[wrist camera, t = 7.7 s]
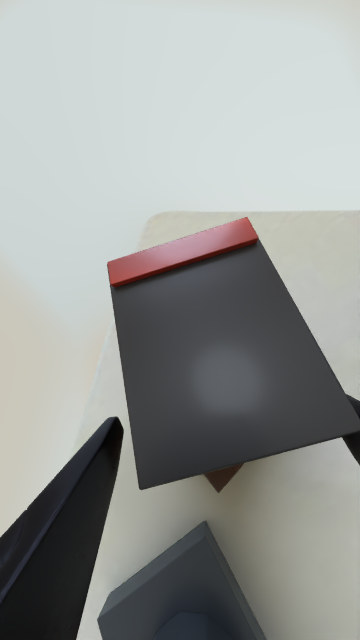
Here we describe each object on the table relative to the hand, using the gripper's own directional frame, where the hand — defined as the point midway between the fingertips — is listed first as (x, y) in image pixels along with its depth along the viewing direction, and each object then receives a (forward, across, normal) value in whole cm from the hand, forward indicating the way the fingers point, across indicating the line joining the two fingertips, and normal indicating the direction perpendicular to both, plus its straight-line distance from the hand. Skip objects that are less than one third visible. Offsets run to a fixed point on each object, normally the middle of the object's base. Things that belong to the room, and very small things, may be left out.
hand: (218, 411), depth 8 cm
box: (+8, 0, +4) cm, 9 cm away
